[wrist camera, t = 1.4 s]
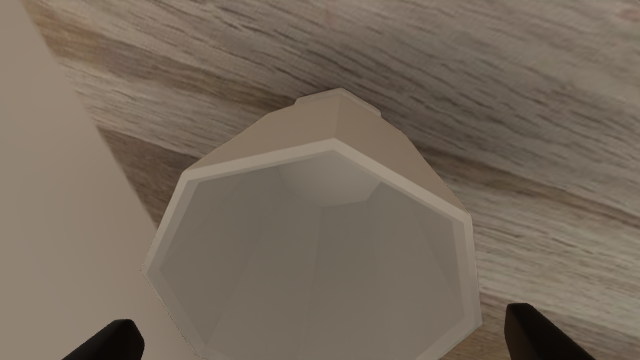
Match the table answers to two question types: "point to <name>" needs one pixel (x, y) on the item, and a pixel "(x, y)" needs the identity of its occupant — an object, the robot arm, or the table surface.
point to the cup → (316, 243)
